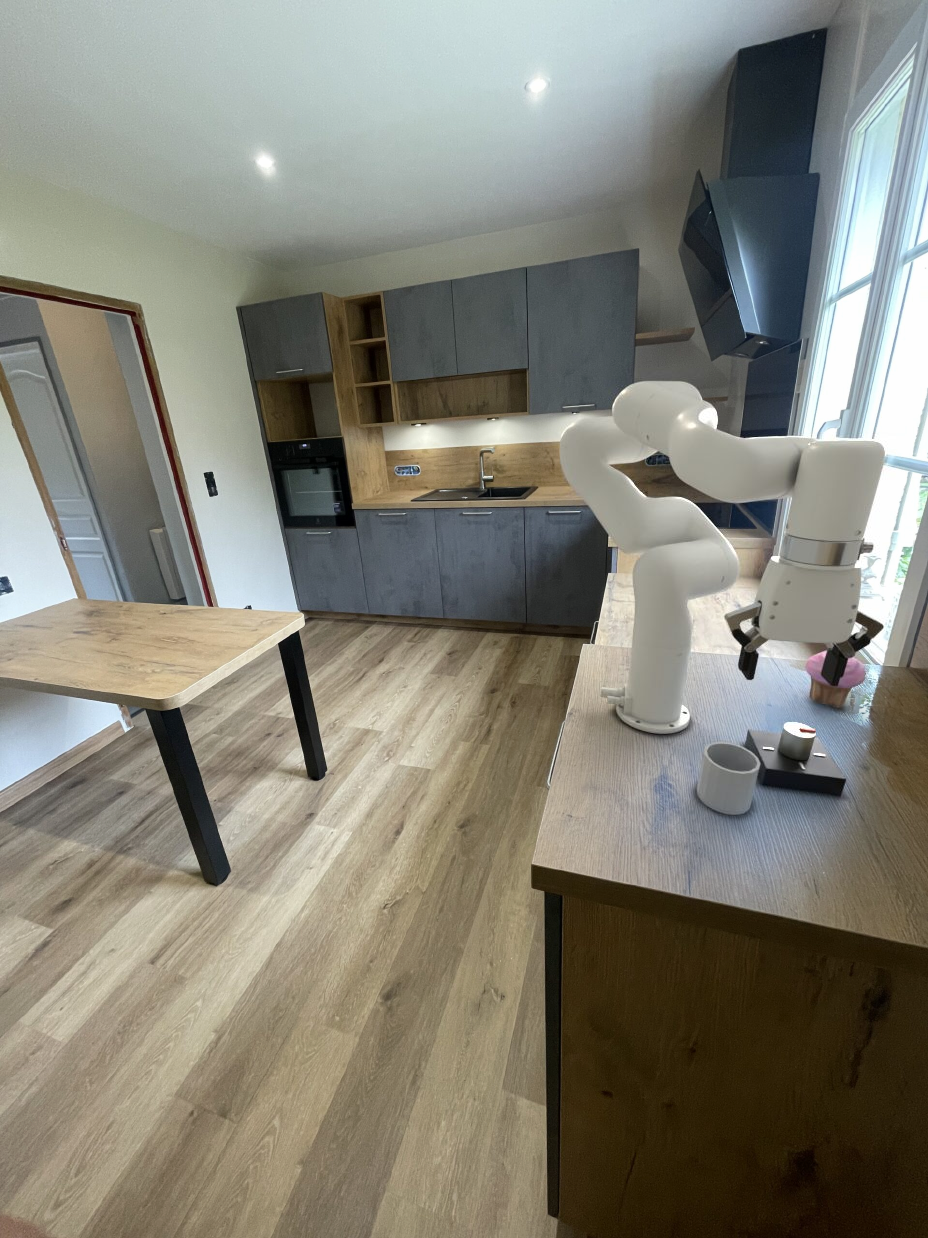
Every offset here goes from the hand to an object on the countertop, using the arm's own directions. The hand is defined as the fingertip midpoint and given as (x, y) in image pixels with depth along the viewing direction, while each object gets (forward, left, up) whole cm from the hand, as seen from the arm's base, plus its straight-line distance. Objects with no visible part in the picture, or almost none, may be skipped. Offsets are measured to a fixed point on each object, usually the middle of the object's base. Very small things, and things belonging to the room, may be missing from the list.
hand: (786, 678), depth 63 cm
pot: (-5, -3, -18) cm, 19 cm away
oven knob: (+6, +6, -15) cm, 17 cm away
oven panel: (+6, +6, -18) cm, 20 cm away
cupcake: (+19, +29, -18) cm, 39 cm away
